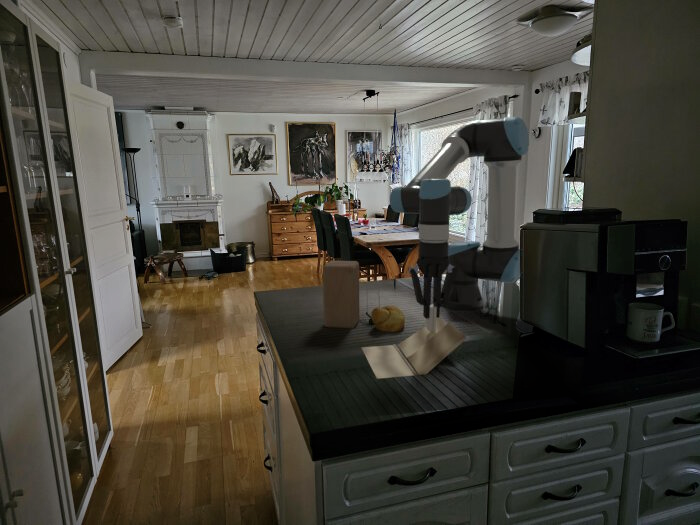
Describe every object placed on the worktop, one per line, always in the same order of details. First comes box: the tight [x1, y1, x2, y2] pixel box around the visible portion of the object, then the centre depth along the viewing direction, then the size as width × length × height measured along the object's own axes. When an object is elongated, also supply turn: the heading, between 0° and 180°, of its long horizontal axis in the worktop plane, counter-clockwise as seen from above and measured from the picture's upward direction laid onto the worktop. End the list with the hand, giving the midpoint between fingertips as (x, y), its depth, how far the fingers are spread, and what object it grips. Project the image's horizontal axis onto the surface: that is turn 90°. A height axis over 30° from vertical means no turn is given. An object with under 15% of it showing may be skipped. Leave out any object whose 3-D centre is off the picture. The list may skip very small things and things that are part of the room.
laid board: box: [360, 344, 418, 380], centre depth 108 cm, size 10×19×1 cm, turn 9°
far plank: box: [397, 316, 449, 359], centre depth 114 cm, size 14×9×1 cm
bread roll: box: [370, 305, 406, 333], centre depth 134 cm, size 13×10×8 cm
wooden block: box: [322, 260, 360, 329], centre depth 138 cm, size 10×10×20 cm
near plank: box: [407, 322, 467, 376], centre depth 105 cm, size 14×9×1 cm
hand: (431, 329), depth 114 cm, fingers closed
